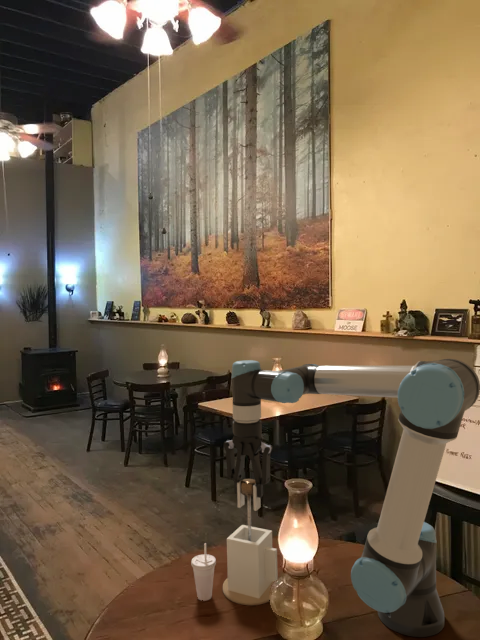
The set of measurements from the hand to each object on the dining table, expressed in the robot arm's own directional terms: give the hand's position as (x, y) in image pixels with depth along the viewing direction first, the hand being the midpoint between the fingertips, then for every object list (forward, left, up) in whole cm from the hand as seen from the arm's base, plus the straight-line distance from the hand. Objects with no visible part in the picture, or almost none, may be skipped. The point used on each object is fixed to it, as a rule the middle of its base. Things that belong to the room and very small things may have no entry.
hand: (249, 507), depth 135 cm
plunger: (0, 0, -15) cm, 15 cm away
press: (0, 0, -22) cm, 22 cm away
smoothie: (+9, +8, -22) cm, 26 cm away
